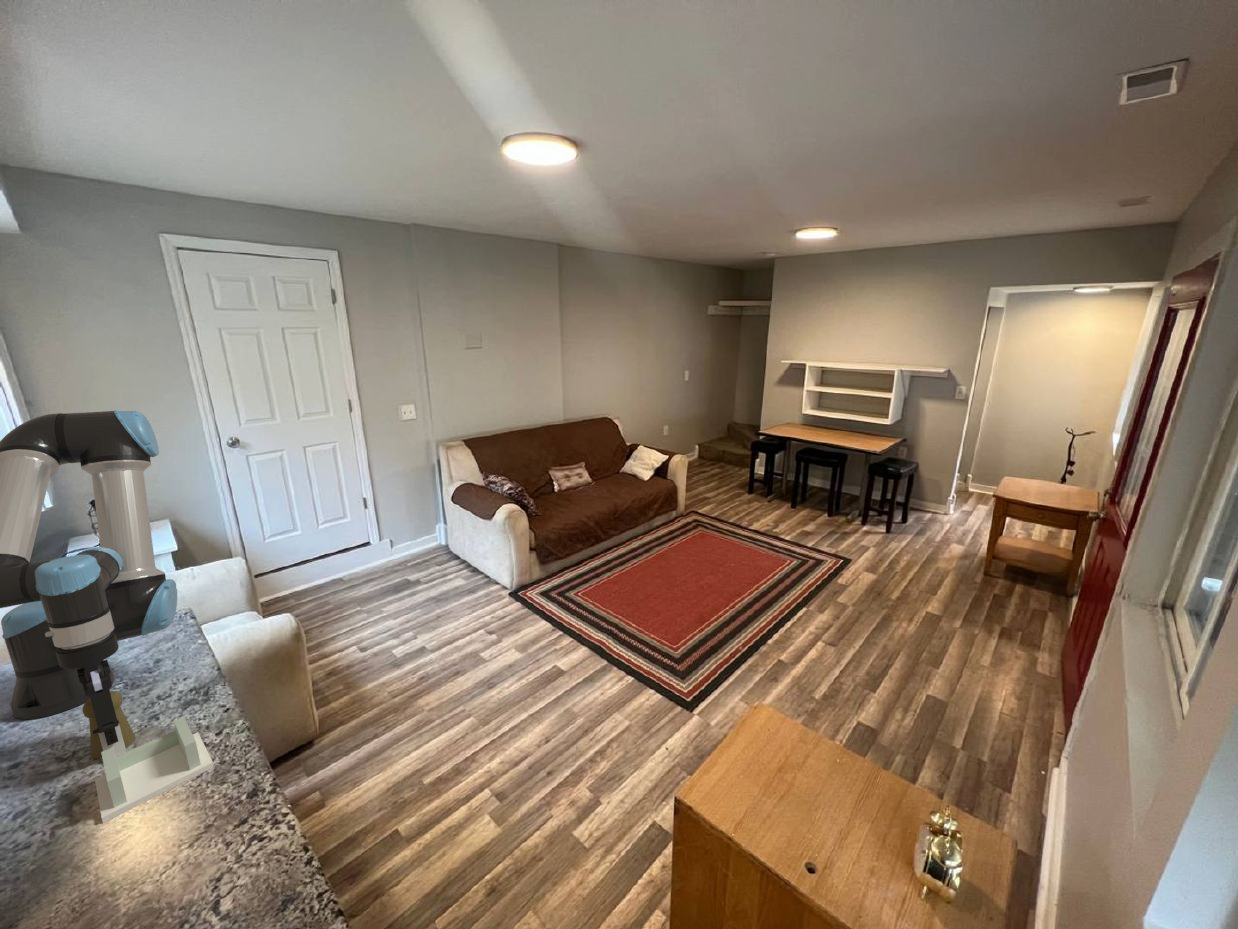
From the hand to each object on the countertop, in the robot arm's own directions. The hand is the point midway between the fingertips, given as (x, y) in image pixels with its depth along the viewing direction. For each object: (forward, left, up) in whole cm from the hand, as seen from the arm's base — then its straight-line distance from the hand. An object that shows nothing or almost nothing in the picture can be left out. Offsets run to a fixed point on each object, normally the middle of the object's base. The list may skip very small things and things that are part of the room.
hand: (113, 745), depth 92 cm
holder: (+16, +4, 0) cm, 16 cm away
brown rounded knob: (0, 0, 0) cm, 0 cm away
